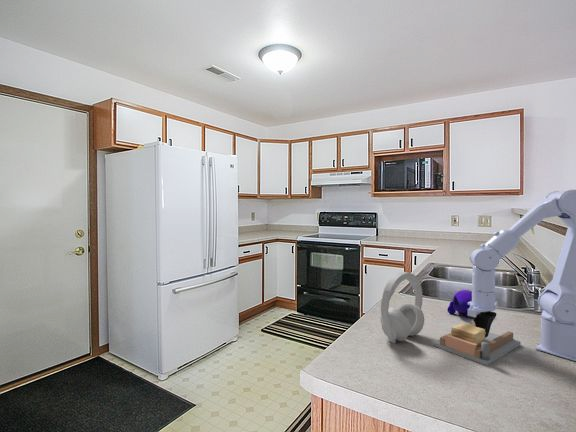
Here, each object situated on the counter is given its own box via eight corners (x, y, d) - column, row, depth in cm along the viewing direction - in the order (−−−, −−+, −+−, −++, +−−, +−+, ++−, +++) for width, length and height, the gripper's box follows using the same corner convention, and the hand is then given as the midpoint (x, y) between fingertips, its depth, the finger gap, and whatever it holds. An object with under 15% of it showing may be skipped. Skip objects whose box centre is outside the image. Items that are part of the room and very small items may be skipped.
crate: (485, 347, 87) (485, 329, 87) (474, 353, 83) (474, 334, 83) (462, 339, 92) (462, 322, 92) (450, 345, 88) (451, 327, 88)
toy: (469, 325, 110) (482, 310, 120) (468, 298, 109) (481, 286, 119) (443, 319, 116) (458, 305, 126) (442, 293, 115) (457, 282, 125)
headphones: (395, 351, 87) (396, 279, 87) (371, 341, 94) (371, 274, 93) (431, 334, 99) (432, 270, 98) (407, 326, 105) (408, 266, 105)
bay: (520, 344, 91) (520, 327, 91) (487, 365, 79) (487, 345, 79) (469, 329, 103) (469, 314, 102) (433, 345, 90) (433, 328, 90)
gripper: (480, 284, 100) (479, 326, 100) (456, 291, 91) (456, 337, 92) (505, 288, 94) (505, 333, 94) (483, 296, 86) (482, 346, 86)
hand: (482, 336), depth 93 cm, fingers closed
